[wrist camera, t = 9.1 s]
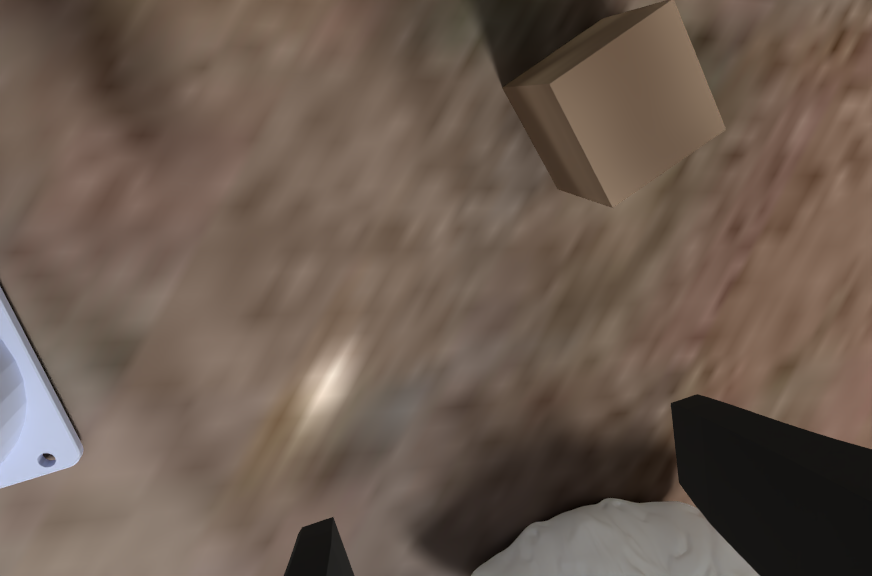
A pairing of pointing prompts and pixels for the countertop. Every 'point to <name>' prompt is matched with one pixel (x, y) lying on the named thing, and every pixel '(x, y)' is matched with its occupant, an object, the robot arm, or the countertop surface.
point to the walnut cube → (617, 104)
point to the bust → (620, 544)
